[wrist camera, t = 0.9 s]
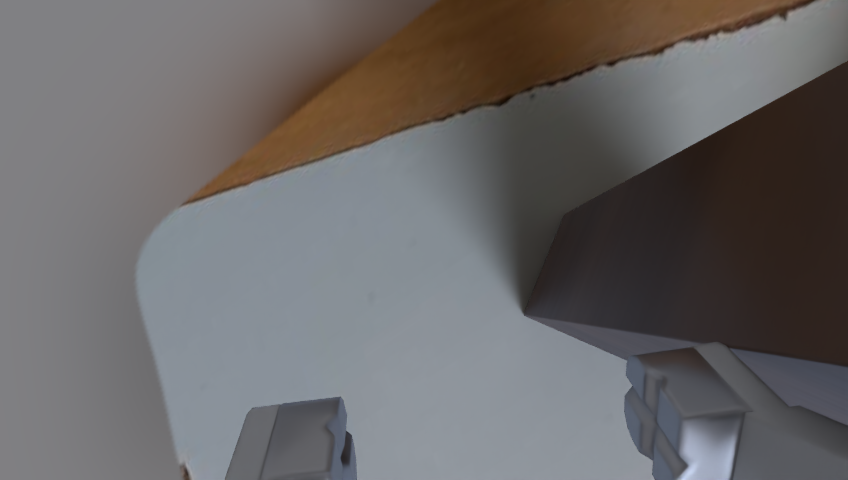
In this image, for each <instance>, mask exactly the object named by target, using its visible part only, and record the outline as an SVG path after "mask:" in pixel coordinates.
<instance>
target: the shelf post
mask: <svg viewBox="0 0 848 480" xmlns="http://www.w3.org/2000/svg"><path fill="white" fill-rule="evenodd" d="M524 316H526V317H529V318H531V319H533V320H536V321H538V322H540V323H542V324H545V325H547V326H549V327H552V328H554V329H556V330H558V331H561V332H563V333H565V334H568V335H570V336H572V337H574V338H577V339H579V340H581V341H584V342H586V343H588V344H590V345H593V346H595V347H597V348H600V349H602V350H604V351H606V352H609V353H611V354H613V355H616V356H618V357H620V358H622V359H625V360H627V361H628V359H629V357H630V356H632V355H639V354H646V353H653V352H659V351H666V350H673V349H680V348H687V347H688V346H694V345H700V344H707V343H713V342H719V343H722V344H724V345H726V346H727V347H728V348H729V349H730V350H731V351H732V352H733V353H734V354H735V355H736V356H737V357H738V358H739V359H740V360H742V361H743V362H744V363H745V364H746V365H747V366H748V367H749V368H750V369H751V370H752V371H753V372H754V373H755V374H756V375H757V376H758V377H759V378H760V379H761V380H762V381H763V382H764V383H765V384H766V385H767V386H769V387H770V388H771V389H772V390H773V391H774V392H775V393H776V394H777V395H778V396H779V397H780V398H781V399H782V400H783V401H784V402H785V403H786V404H787V405H788V406H789V407H791V406H798V405H800V406H802V407H804V408H807V409H809V410H811V411H814V412H816V413H819V414H821V415H823V416H826V417H828V418H831V419H833V420H835V421H838V422H840V423H843V424H845V425H847V426H848V61H847V62H845V63H843V64H841V65H839V66H837V67H835V68H834V69H832V70H830V71H828V72H826V73H824V74H823V75H821V76H819V77H817V78H815V79H813V80H811V81H810V82H808V83H806V84H804V85H802V86H800V87H799V88H797V89H795V90H793V91H791V92H789V93H787V94H786V95H784V96H782V97H780V98H778V99H776V100H775V101H773V102H771V103H769V104H767V105H765V106H763V107H762V108H760V109H758V110H756V111H754V112H752V113H751V114H749V115H747V116H745V117H743V118H741V119H739V120H738V121H736V122H734V123H732V124H730V125H728V126H727V127H725V128H723V129H721V130H719V131H717V132H715V133H714V134H712V135H710V136H708V137H706V138H704V139H702V140H701V141H699V142H697V143H695V144H693V145H691V146H690V147H688V148H686V149H684V150H682V151H680V152H678V153H677V154H675V155H673V156H671V157H669V158H667V159H666V160H664V161H662V162H660V163H658V164H656V165H654V166H653V167H651V168H649V169H647V170H645V171H643V172H642V173H640V174H638V175H636V176H634V177H632V178H630V179H629V180H627V181H625V182H623V183H621V184H619V185H618V186H616V187H614V188H612V189H610V190H608V191H606V192H605V193H603V194H601V195H599V196H597V197H595V198H594V199H592V200H590V201H588V202H586V203H584V204H582V205H581V206H579V207H577V208H575V209H573V210H571V211H570V212H568V213H566V214H564V216H563V219H562V221H561V224H560V226H559V229H558V231H557V234H556V236H555V238H554V241H553V243H552V246H551V248H550V251H549V253H548V256H547V258H546V260H545V263H544V265H543V268H542V270H541V273H540V275H539V278H538V280H537V283H536V285H535V287H534V290H533V292H532V295H531V297H530V300H529V302H528V305H527V307H526V310H525V312H524Z"/></svg>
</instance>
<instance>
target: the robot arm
mask: <svg viewBox="0 0 848 480" xmlns="http://www.w3.org/2000/svg"><path fill="white" fill-rule="evenodd" d="M626 376H627V378H628V379H629V381H630V382H631V384H632V385H633V386H632V387H631V389H630V390H629V391H628V392H627V394H626V395H625V400H624V412H625V417H626V422H627V427H628V430H629V432H630V435H631V437H632V440H633V442H634V443H635V445H636V447H637V449H638V451H639V452H640V453H642V454H643V455H645V456H647V457H648V458H650V459H652V460H653V470H652V475H653V476H654V478H655V480H848V426H847V425H845V424H843V423H840V422H838V421H835V420H833V419H831V418H828V417H826V416H823V415H821V414H819V413H816V412H814V411H811V410H809V409H807V408H804V407H802V406H800V405H798V406H791V407H789V406H788V405H787V404H786V403H785V402H784V401H783V400H782V399H781V398H780V397H779V396H778V395H777V394H776V393H775V392H774V391H773V390H772V389H771V388H770V387H769V386H767V385H766V384H765V383H764V382H763V381H762V380H761V379H760V378H759V377H758V376H757V375H756V374H755V373H754V372H753V371H752V370H751V369H750V368H749V367H748V366H747V365H746V364H745V363H744V362H743V361H742V360H740V359H739V358H738V357H737V356H736V355H735V354H734V353H733V352H732V351H731V350H730V349H729V348H728V347H727V346H726V345H724V344H722V343H719V342H713V343H707V344H700V345H694V346H688V347H687V348H680V349H673V350H666V351H659V352H653V353H646V354H639V355H632V356H630V357H629V359H628V361H627V366H626ZM346 423H347V413H346V409H345V405H344V401H343V399H342V398H341V397H334V398H326V399H317V400H309V401H301V402H292V403H284V404H282V405H271V406H263V407H255V408H252V409H251V410H250V411H249V412H248V414H247V415H246V418H245V421H244V424H243V427H242V430H241V433H240V436H239V439H238V442H237V445H236V448H235V451H234V454H233V457H232V459H231V462H230V465H229V468H228V471H227V474H226V477H225V480H357V469H356V456H355V449H354V443H353V439H352V435H351V434H350V433H348V432H347V431H346Z"/></svg>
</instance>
